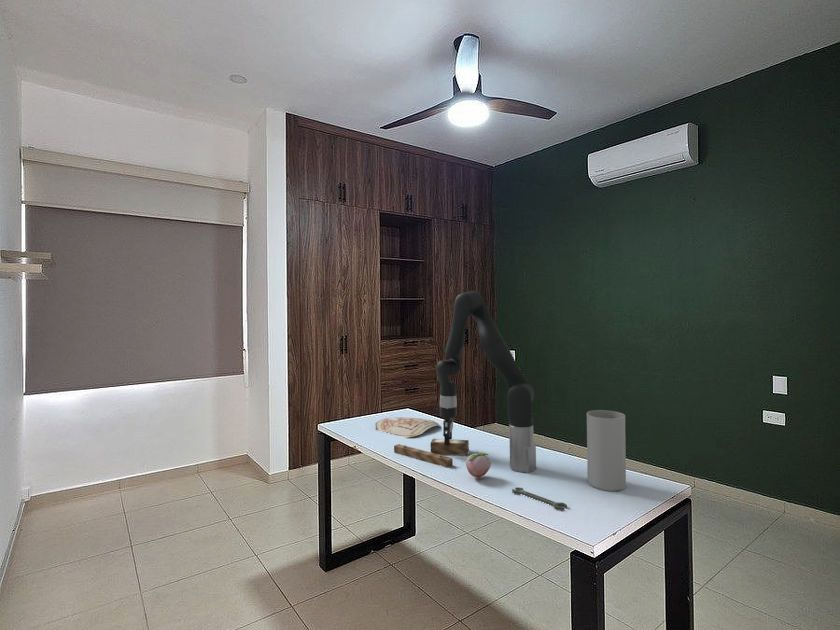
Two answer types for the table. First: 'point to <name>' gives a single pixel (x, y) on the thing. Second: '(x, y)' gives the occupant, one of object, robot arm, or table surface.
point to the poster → (404, 426)
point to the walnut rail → (423, 455)
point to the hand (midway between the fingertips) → (448, 442)
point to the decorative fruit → (478, 464)
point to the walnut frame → (450, 447)
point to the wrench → (540, 498)
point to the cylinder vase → (606, 450)
